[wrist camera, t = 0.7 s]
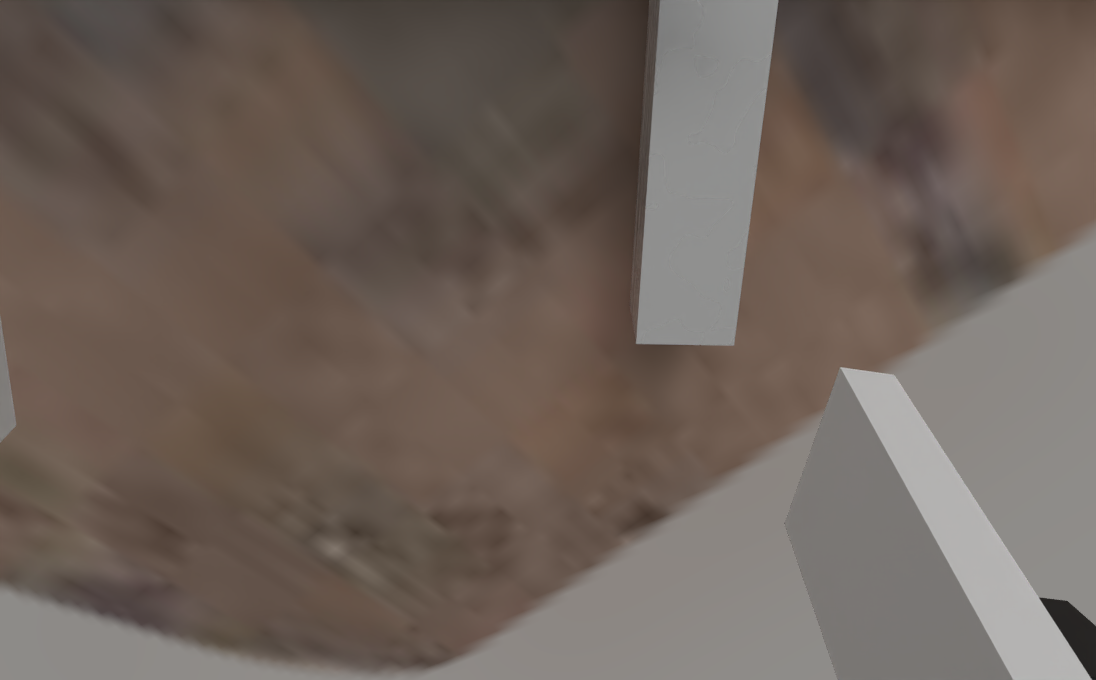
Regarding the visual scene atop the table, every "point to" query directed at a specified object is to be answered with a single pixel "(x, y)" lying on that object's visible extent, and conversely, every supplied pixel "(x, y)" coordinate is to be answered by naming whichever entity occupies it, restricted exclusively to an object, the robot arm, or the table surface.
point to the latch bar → (698, 166)
